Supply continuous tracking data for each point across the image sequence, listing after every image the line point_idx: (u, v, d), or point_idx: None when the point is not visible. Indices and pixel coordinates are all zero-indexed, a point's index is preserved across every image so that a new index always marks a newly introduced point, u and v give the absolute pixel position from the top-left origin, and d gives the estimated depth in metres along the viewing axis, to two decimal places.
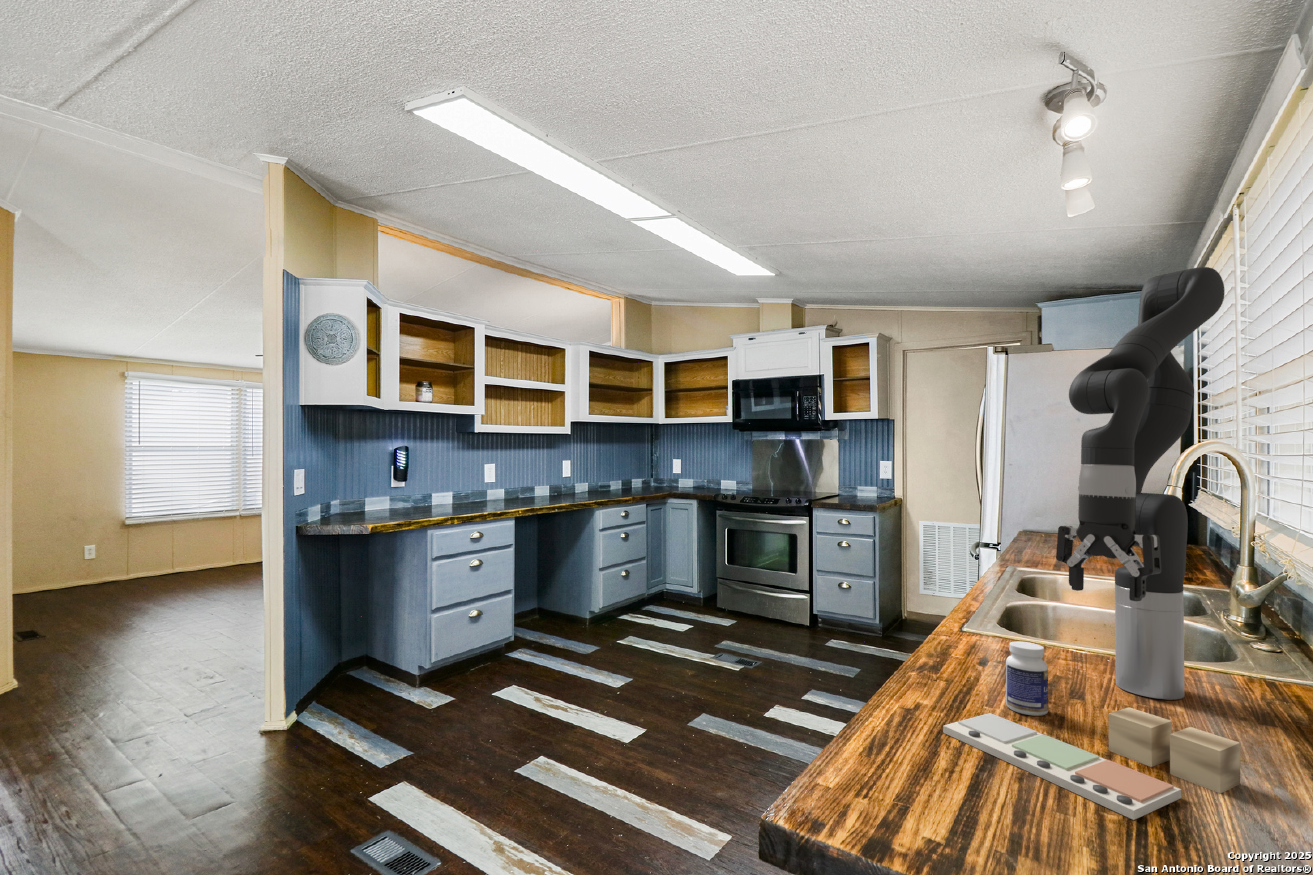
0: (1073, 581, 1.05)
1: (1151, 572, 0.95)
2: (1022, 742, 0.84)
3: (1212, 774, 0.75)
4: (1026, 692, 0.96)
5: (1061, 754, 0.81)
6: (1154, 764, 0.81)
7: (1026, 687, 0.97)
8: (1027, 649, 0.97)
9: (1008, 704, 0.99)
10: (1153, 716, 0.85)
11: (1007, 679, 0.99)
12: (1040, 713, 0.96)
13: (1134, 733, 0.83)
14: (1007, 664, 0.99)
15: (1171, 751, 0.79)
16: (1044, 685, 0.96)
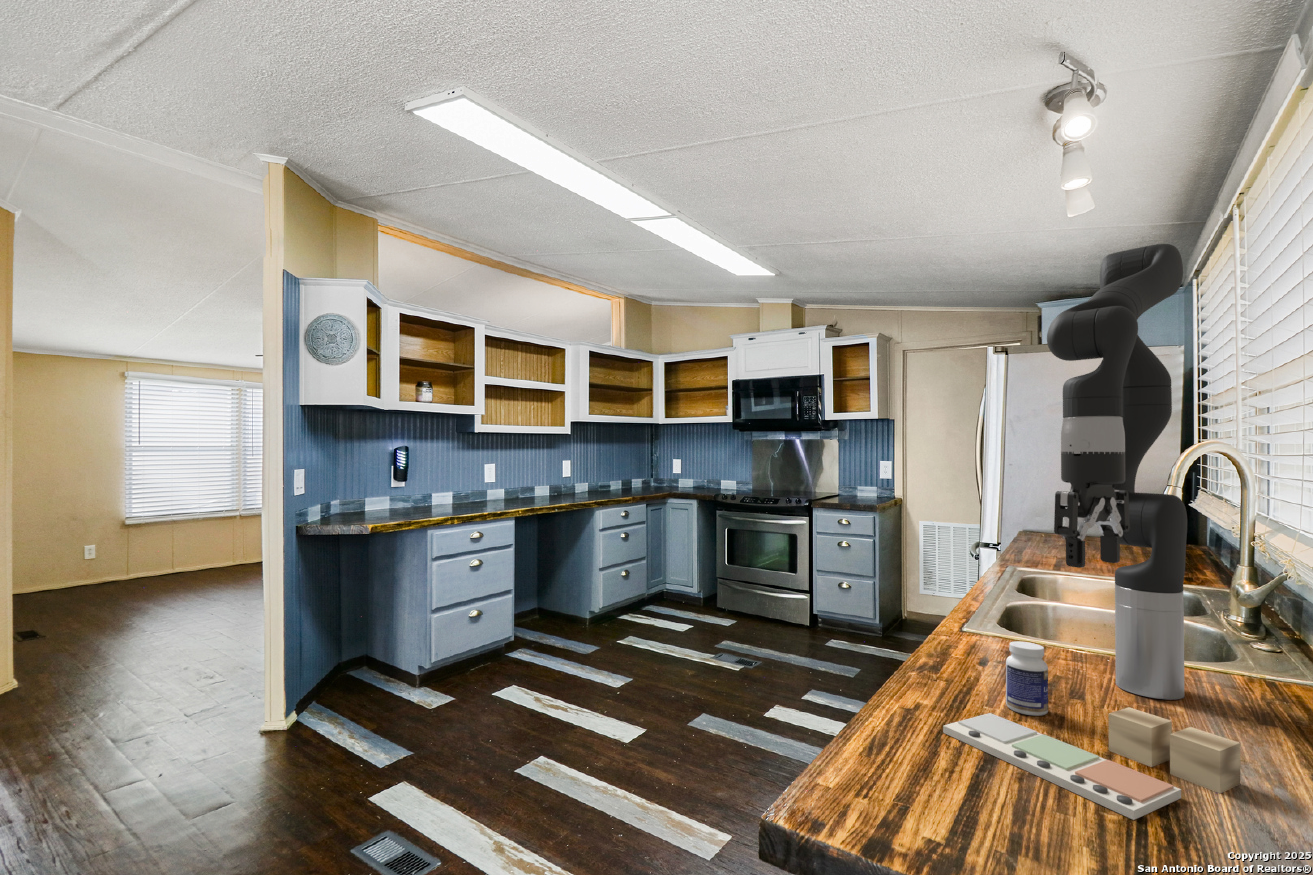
0: (1083, 557, 0.87)
1: (1128, 529, 0.92)
2: (1022, 742, 0.84)
3: (1212, 774, 0.75)
4: (1026, 692, 0.96)
5: (1061, 754, 0.81)
6: (1154, 764, 0.81)
7: (1026, 687, 0.97)
8: (1027, 649, 0.97)
9: (1008, 704, 0.99)
10: (1153, 716, 0.85)
11: (1007, 679, 0.99)
12: (1040, 713, 0.96)
13: (1134, 733, 0.83)
14: (1007, 664, 0.99)
15: (1171, 751, 0.79)
16: (1044, 685, 0.96)
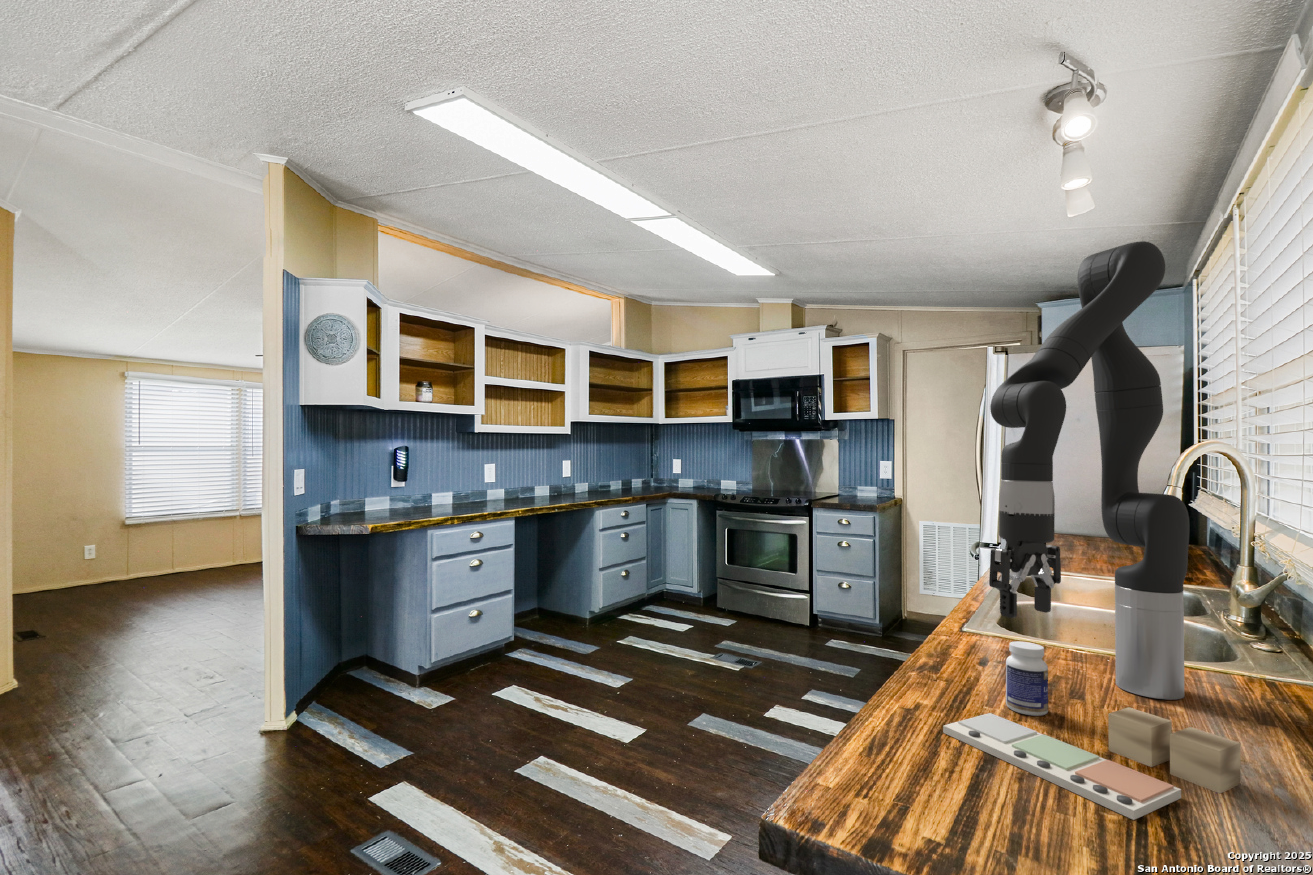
0: (1015, 608, 0.96)
1: (1060, 581, 1.01)
2: (1022, 742, 0.84)
3: (1212, 774, 0.75)
4: (1026, 692, 0.96)
5: (1061, 754, 0.81)
6: (1154, 764, 0.81)
7: (1026, 687, 0.97)
8: (1027, 649, 0.97)
9: (1008, 704, 0.99)
10: (1153, 716, 0.85)
11: (1007, 679, 0.99)
12: (1040, 713, 0.96)
13: (1134, 733, 0.83)
14: (1007, 664, 0.99)
15: (1171, 751, 0.79)
16: (1044, 685, 0.96)
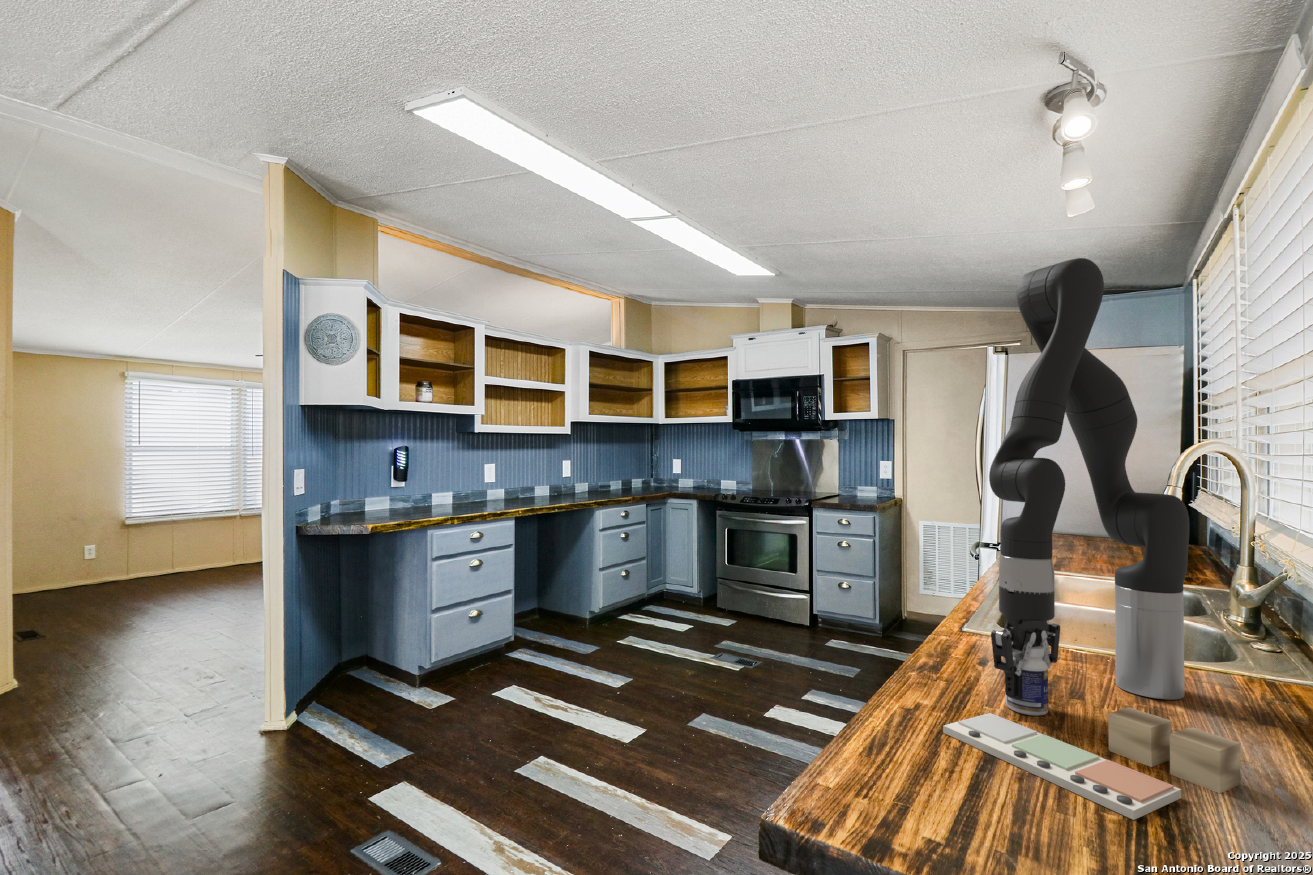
0: (1020, 690, 0.96)
1: (1056, 660, 1.01)
2: (1022, 742, 0.84)
3: (1212, 774, 0.75)
4: (1026, 691, 0.96)
5: (1061, 754, 0.81)
6: (1154, 763, 0.81)
7: (1026, 687, 0.97)
8: None
9: (1008, 704, 0.99)
10: (1153, 716, 0.85)
11: None
12: (1040, 713, 0.96)
13: (1134, 733, 0.83)
14: None
15: (1171, 751, 0.79)
16: (1044, 685, 0.96)
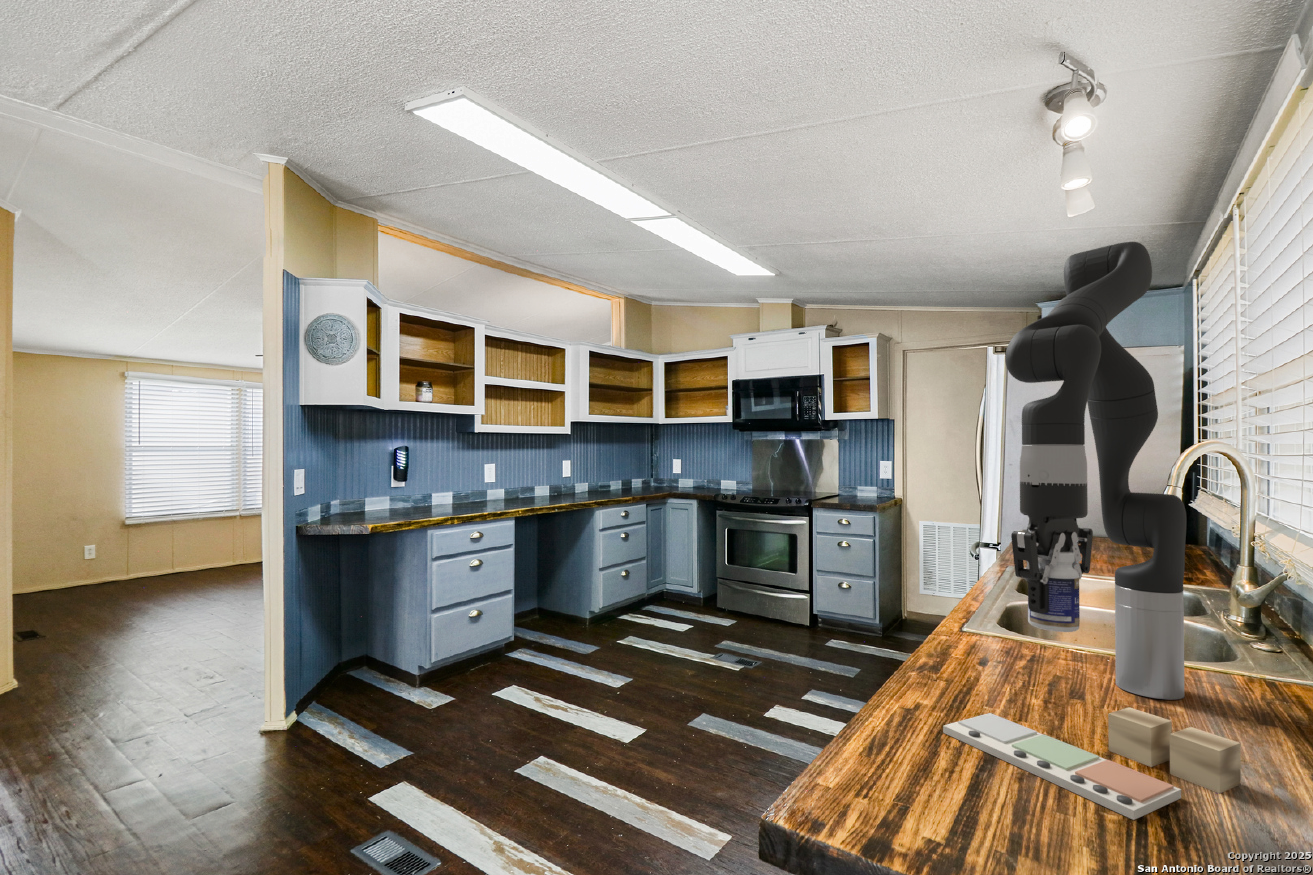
0: (1046, 602, 0.80)
1: (1088, 570, 0.85)
2: (1022, 742, 0.84)
3: (1211, 774, 0.75)
4: (1054, 603, 0.80)
5: (1061, 754, 0.81)
6: (1154, 763, 0.81)
7: (1053, 598, 0.81)
8: None
9: (1031, 621, 0.83)
10: (1153, 716, 0.85)
11: None
12: (1070, 629, 0.80)
13: (1134, 733, 0.83)
14: None
15: (1171, 751, 0.79)
16: (1075, 595, 0.80)
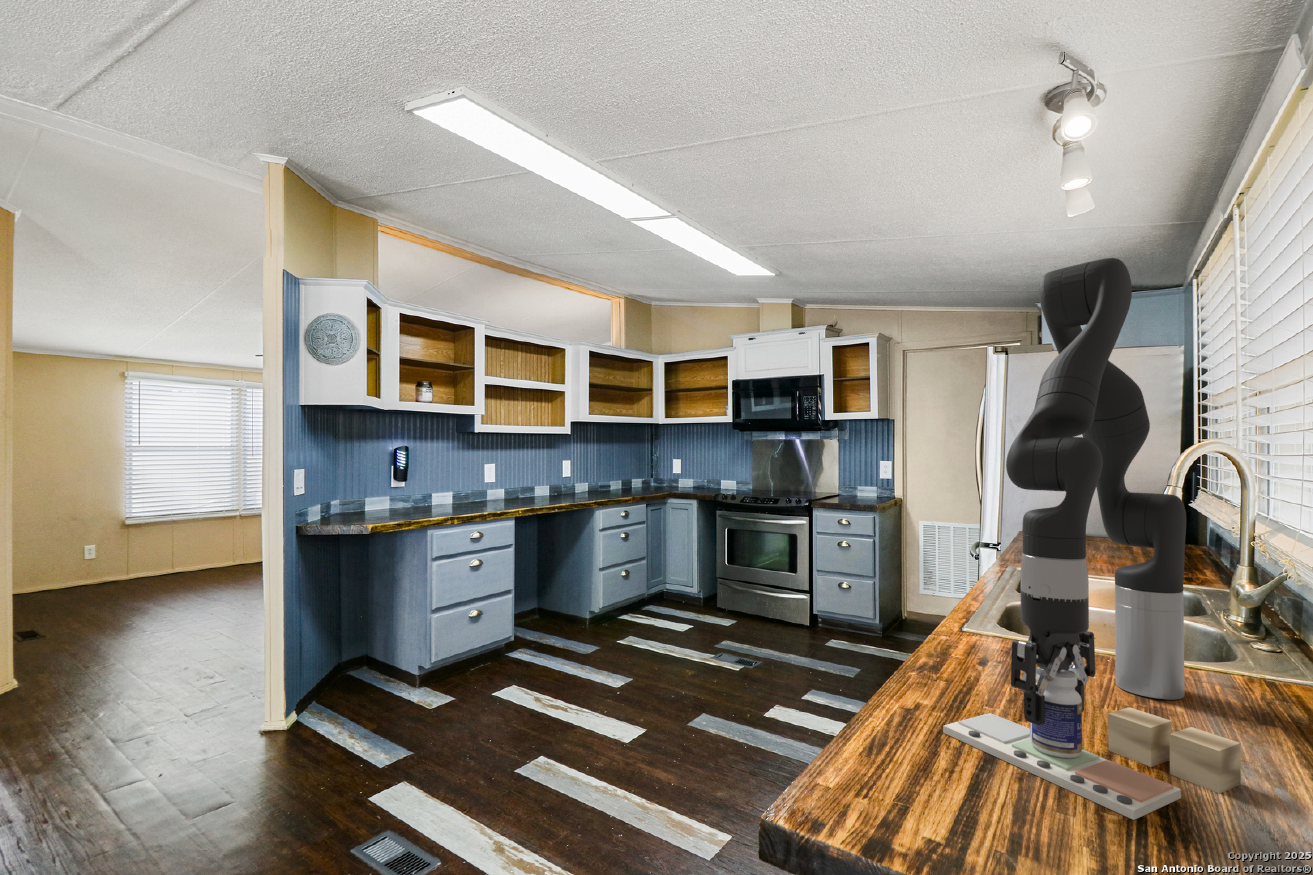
0: (1042, 714, 0.79)
1: (1094, 674, 0.85)
2: (1022, 742, 0.84)
3: (1211, 774, 0.75)
4: (1056, 729, 0.80)
5: None
6: (1154, 763, 0.81)
7: (1055, 723, 0.80)
8: (1057, 678, 0.81)
9: (1033, 743, 0.82)
10: (1153, 716, 0.85)
11: None
12: (1073, 755, 0.80)
13: (1134, 733, 0.83)
14: None
15: (1171, 751, 0.79)
16: (1077, 721, 0.80)
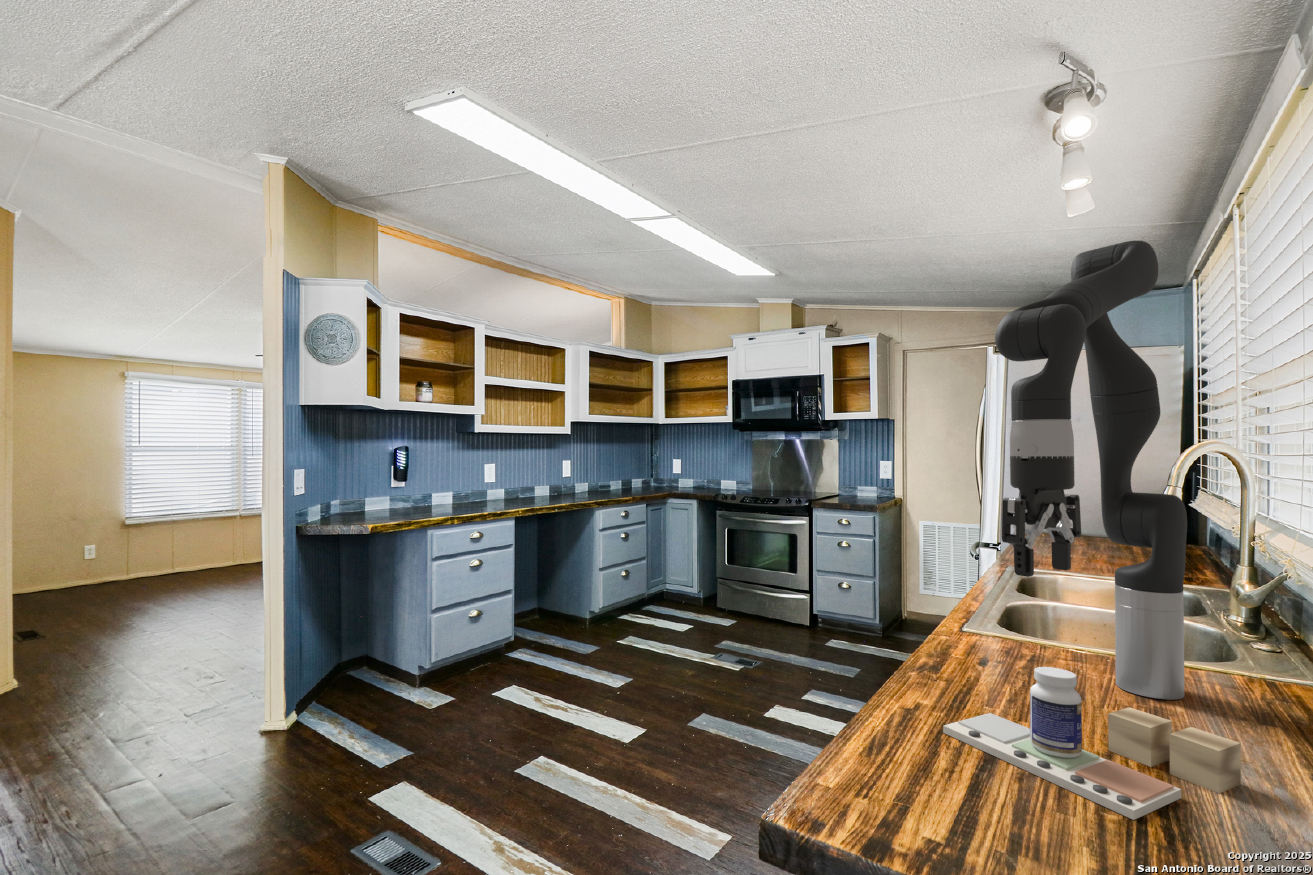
0: (1031, 566, 0.84)
1: (1080, 534, 0.89)
2: (1022, 742, 0.84)
3: (1211, 774, 0.75)
4: (1056, 729, 0.80)
5: None
6: (1154, 763, 0.81)
7: (1055, 723, 0.80)
8: (1057, 678, 0.81)
9: (1033, 743, 0.82)
10: (1153, 716, 0.85)
11: (1032, 713, 0.83)
12: (1073, 755, 0.80)
13: (1134, 733, 0.83)
14: (1032, 695, 0.83)
15: (1171, 751, 0.79)
16: (1077, 721, 0.80)
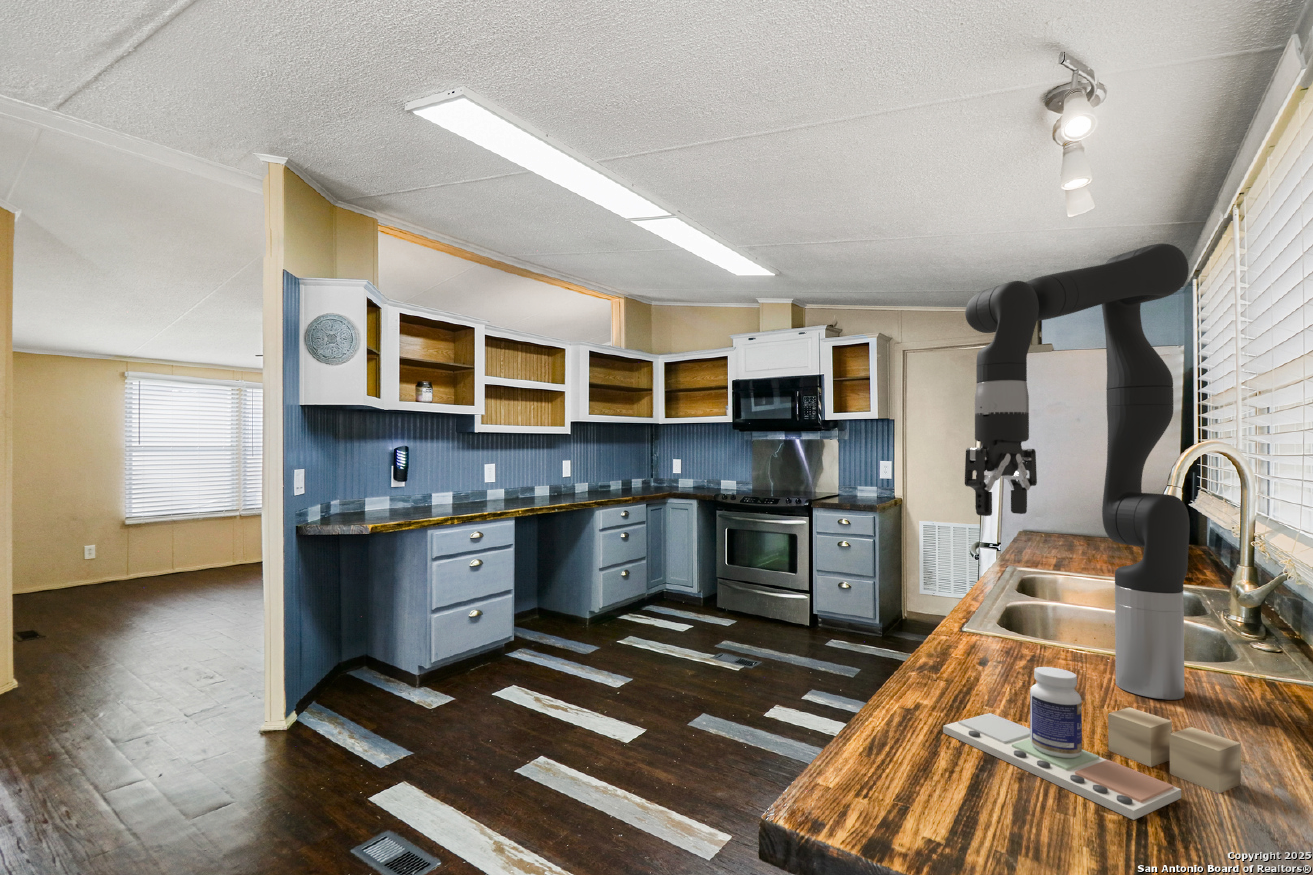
0: (990, 506, 0.97)
1: (1036, 483, 1.02)
2: (1022, 742, 0.84)
3: (1211, 774, 0.75)
4: (1056, 729, 0.80)
5: None
6: (1154, 763, 0.81)
7: (1055, 723, 0.80)
8: (1057, 678, 0.81)
9: (1033, 743, 0.82)
10: (1153, 716, 0.85)
11: (1032, 713, 0.83)
12: (1073, 755, 0.80)
13: (1134, 733, 0.83)
14: (1032, 695, 0.83)
15: (1171, 751, 0.79)
16: (1077, 721, 0.80)
